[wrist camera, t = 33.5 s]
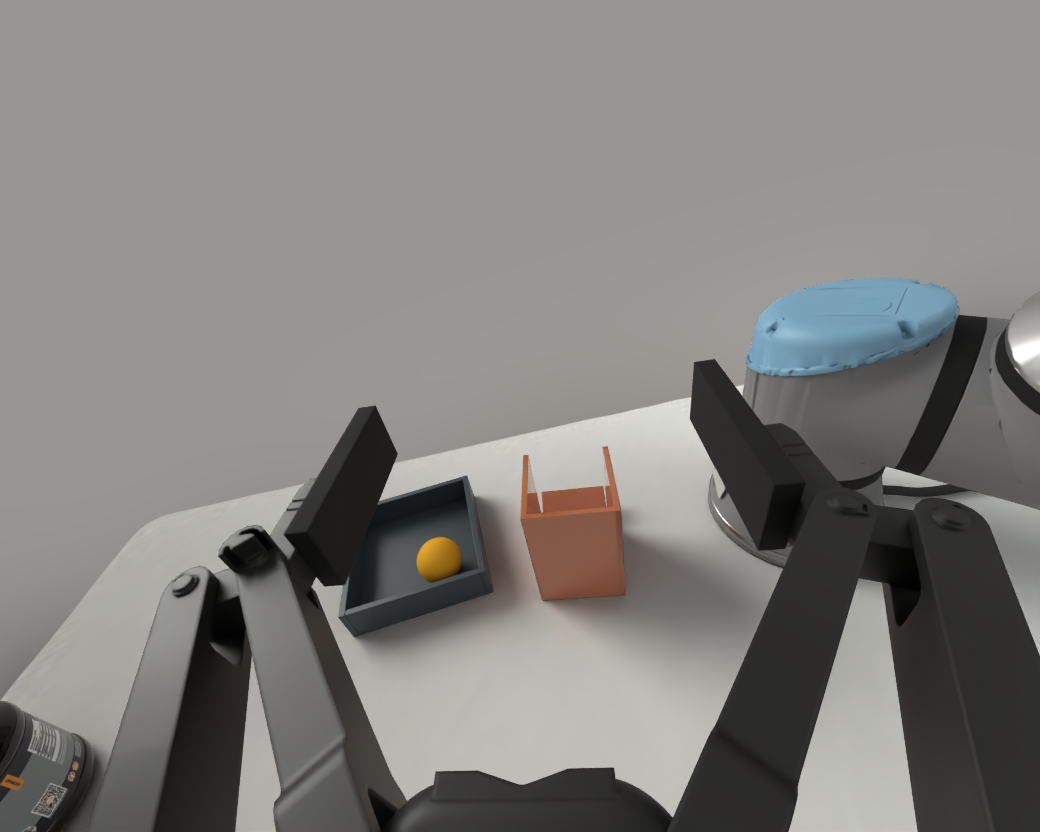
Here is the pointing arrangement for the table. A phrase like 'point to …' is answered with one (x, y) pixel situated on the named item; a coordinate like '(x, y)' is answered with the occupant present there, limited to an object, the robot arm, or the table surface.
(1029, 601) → the table surface
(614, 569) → the orange open box
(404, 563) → the tray
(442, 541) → the ball
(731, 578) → the table surface
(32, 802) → the supplement container
